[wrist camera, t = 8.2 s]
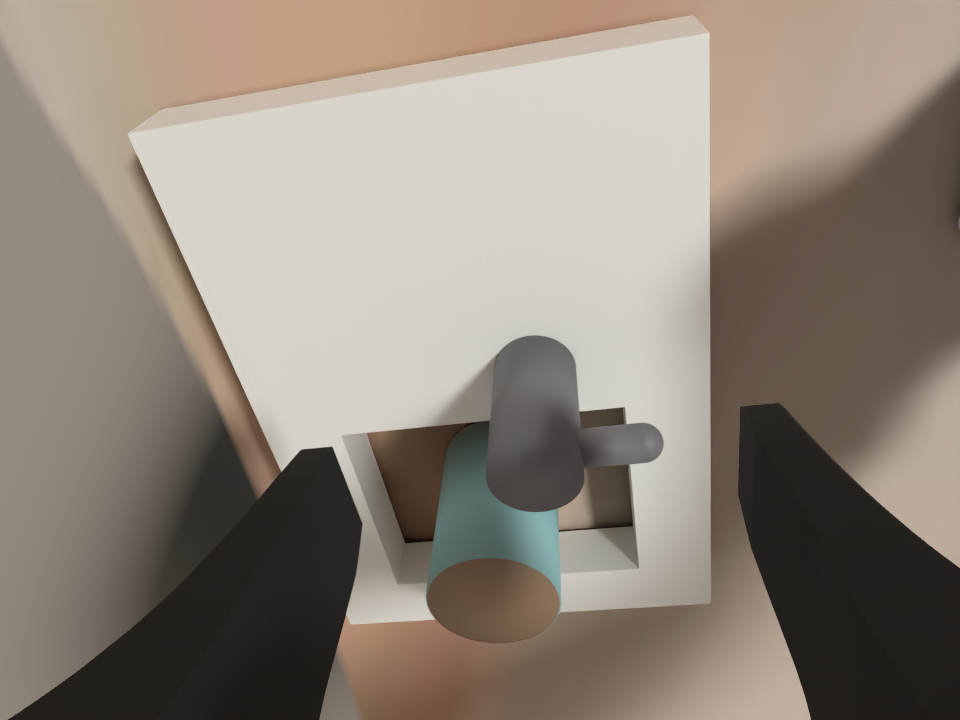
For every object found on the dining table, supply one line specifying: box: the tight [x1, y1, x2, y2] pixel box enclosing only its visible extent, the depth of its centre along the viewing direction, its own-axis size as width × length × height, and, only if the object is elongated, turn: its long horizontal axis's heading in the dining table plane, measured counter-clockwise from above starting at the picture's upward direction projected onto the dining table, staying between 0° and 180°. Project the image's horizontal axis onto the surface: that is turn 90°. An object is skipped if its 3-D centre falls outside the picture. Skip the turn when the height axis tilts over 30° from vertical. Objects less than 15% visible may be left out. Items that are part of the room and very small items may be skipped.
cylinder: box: [426, 421, 562, 643], centre depth 24 cm, size 4×4×6 cm
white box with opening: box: [128, 15, 711, 624], centre depth 22 cm, size 14×20×6 cm
